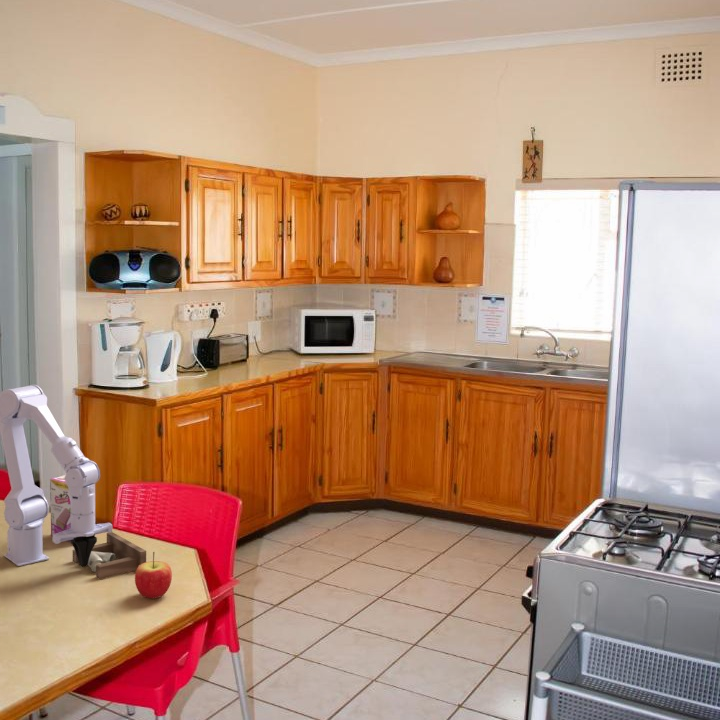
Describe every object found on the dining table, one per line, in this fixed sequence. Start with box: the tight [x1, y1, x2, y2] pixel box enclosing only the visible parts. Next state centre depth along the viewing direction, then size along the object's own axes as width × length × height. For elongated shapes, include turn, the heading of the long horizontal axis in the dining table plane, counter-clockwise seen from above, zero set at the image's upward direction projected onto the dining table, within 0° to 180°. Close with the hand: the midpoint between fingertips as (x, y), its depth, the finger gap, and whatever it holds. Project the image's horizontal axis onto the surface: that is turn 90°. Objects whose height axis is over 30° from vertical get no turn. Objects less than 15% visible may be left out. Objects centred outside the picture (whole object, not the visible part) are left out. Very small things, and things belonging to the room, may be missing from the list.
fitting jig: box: [71, 531, 147, 580], centre depth 214 cm, size 18×12×5 cm, turn 43°
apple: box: [134, 551, 173, 599], centre depth 195 cm, size 8×8×10 cm
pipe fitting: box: [87, 551, 117, 573], centre depth 212 cm, size 8×4×7 cm
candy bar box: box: [49, 475, 71, 543], centre depth 231 cm, size 11×5×16 cm, turn 58°
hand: (83, 565), depth 209 cm, fingers closed
